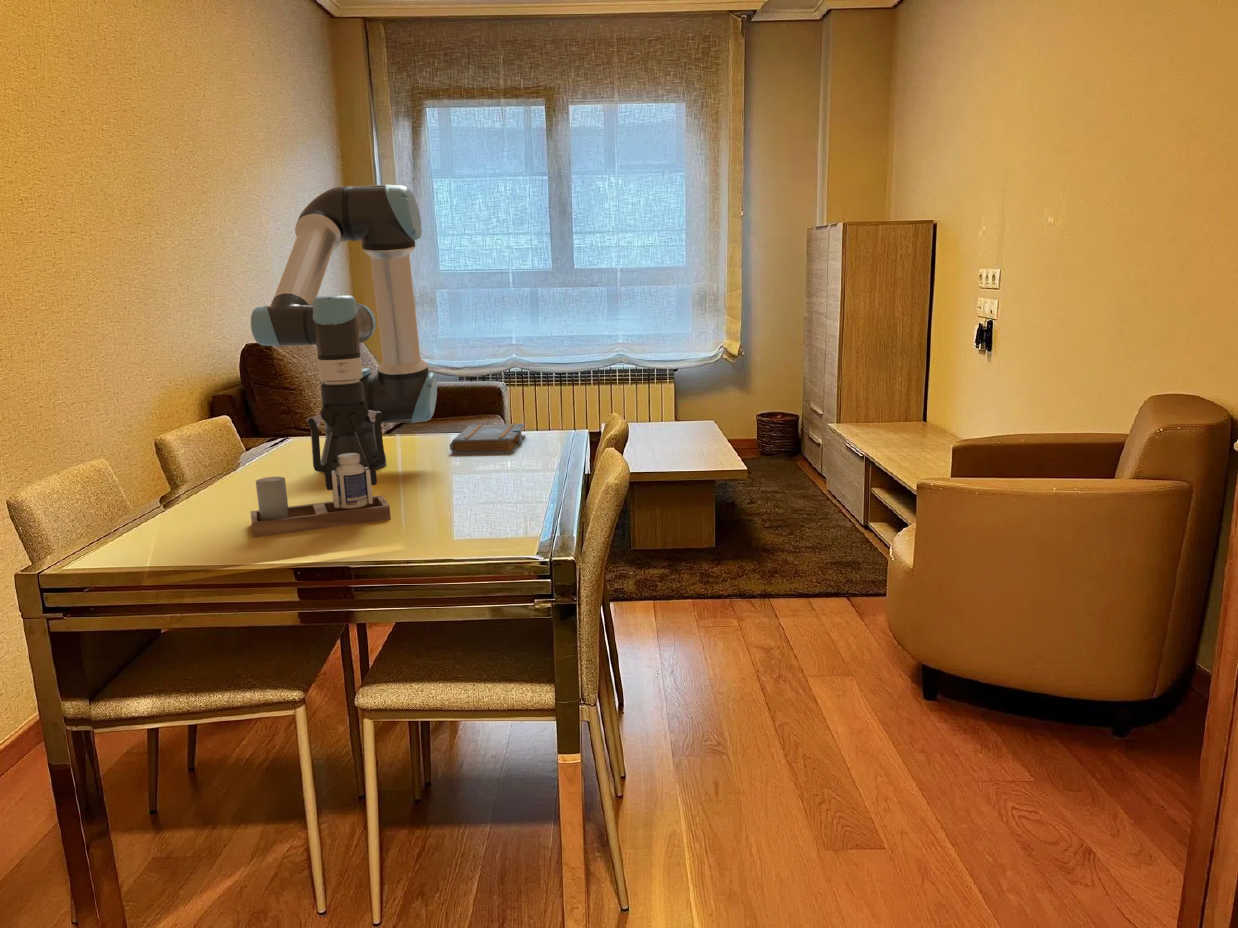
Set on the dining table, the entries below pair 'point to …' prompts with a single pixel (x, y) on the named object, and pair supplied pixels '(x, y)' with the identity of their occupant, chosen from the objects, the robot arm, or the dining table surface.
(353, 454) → the pill bottle
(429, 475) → the dining table surface
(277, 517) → the grey rounded cylinder
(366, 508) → the rack
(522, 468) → the dining table surface
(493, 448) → the book
